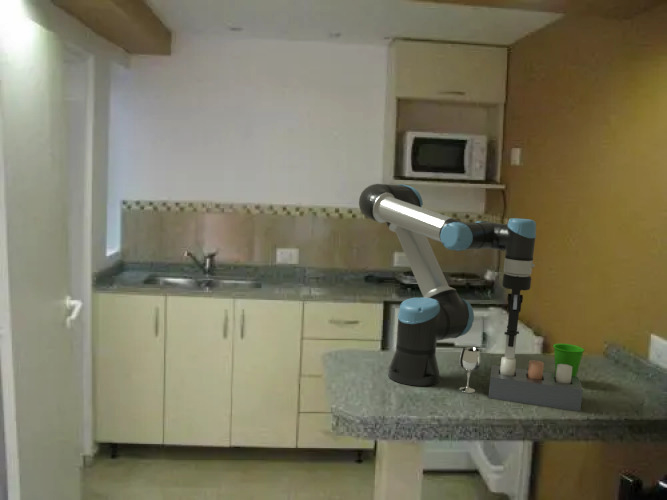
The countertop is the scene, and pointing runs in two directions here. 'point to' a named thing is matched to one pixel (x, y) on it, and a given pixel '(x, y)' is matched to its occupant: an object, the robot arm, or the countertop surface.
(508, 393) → the grey socket block
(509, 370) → the white plug
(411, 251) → the robot arm
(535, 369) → the plug terracotta
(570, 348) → the cup
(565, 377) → the white plug
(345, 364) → the countertop surface
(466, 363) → the wineglass
